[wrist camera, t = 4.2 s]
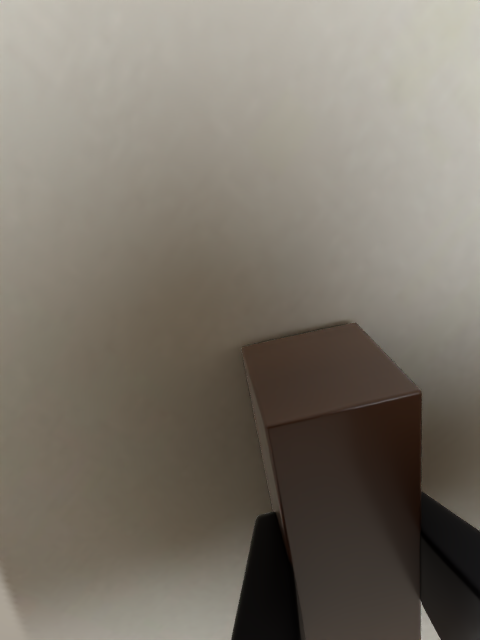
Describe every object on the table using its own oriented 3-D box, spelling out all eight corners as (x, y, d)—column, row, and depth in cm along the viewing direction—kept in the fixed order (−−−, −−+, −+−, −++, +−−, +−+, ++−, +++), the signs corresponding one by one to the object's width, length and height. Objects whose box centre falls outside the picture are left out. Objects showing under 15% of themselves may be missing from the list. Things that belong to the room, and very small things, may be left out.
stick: (372, 569, 11) (422, 678, 9) (287, 590, 11) (316, 706, 8) (355, 320, 8) (423, 390, 6) (240, 345, 8) (264, 427, 6)
